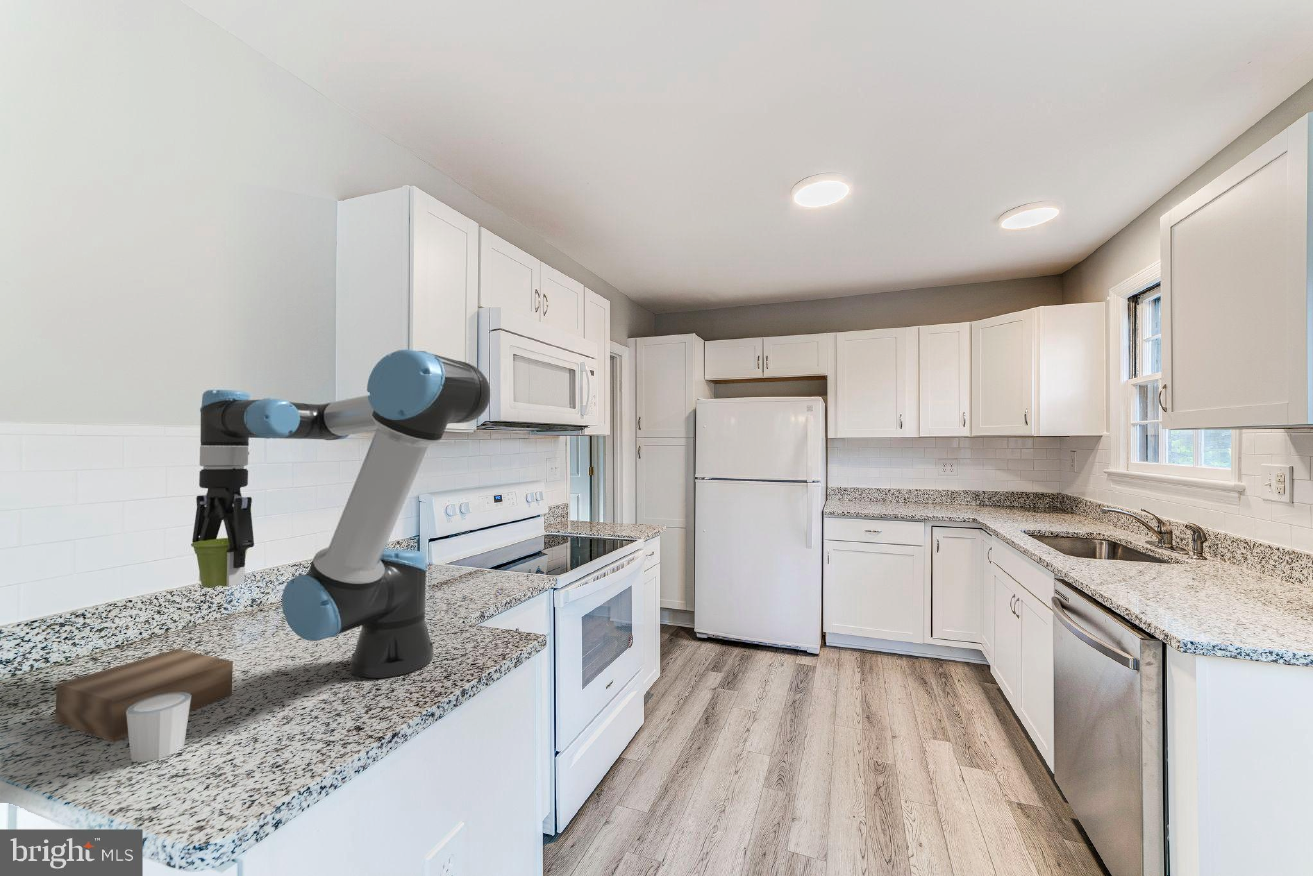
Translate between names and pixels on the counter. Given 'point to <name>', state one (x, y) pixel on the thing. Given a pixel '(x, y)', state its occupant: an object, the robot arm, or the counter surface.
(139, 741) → the white tapered cup
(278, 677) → the counter surface
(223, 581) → the plant pot
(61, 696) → the walnut block
